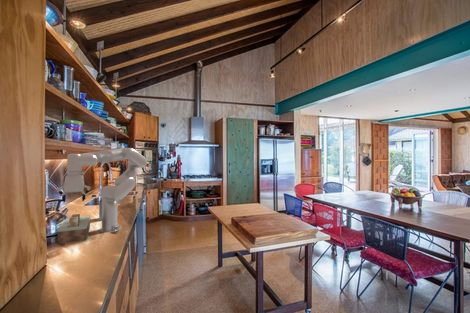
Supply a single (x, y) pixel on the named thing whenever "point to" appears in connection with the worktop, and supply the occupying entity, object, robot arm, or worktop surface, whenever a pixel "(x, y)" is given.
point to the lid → (81, 225)
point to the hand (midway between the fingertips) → (73, 201)
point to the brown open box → (73, 235)
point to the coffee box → (100, 209)
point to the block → (73, 221)
